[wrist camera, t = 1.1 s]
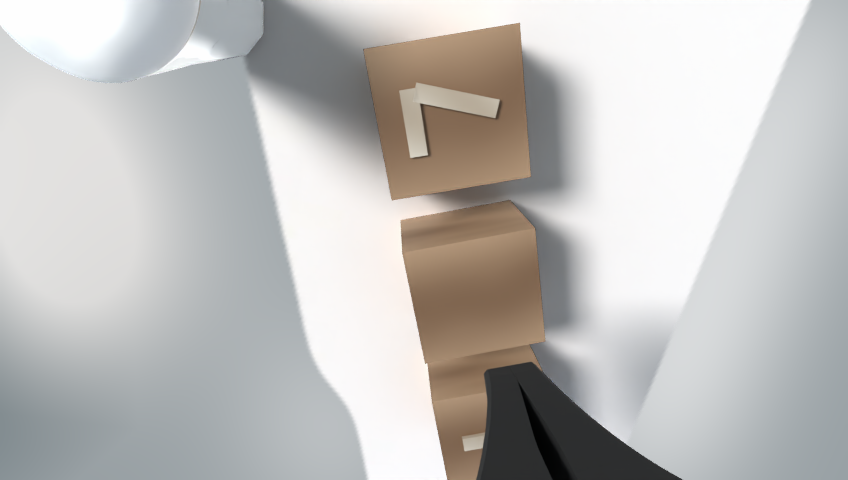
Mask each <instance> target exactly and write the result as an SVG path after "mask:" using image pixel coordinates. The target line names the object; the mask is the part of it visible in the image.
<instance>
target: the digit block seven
mask: <svg viewBox="0 0 848 480" xmlns="http://www.w3.org/2000/svg"><path fill="white" fill-rule="evenodd" d="M363 51H364V56H365V61H366V67H367V72H368V77H369V82H370V88H371V93H372V98H373V104H374V109H375V114H376V119H377V125H378V130H379V135H380V141H381V146H382V151H383V156H384V162H385V167H386V172H387V178H388V183H389V188H390V193H391V199H392V200H397V199H403V198H409V197H415V196H421V195H427V194H433V193H439V192H445V191H451V190H456V189H462V188H468V187H474V186H480V185H486V184H492V183H498V182H504V181H510V180H516V179H522V178H528V177H531V172H530V158H529V144H528V130H527V117H526V103H525V89H524V75H523V61H522V47H521V33H520V23H516V24H510V25H504V26H498V27H492V28H486V29H480V30H474V31H468V32H462V33H456V34H450V35H444V36H438V37H432V38H426V39H421V40H415V41H409V42H403V43H397V44H391V45H385V46H379V47H373V48H367V49H363Z"/></svg>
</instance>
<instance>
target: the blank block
mask: <svg viewBox="0 0 848 480" xmlns="http://www.w3.org/2000/svg"><path fill="white" fill-rule="evenodd" d="M401 237H402V254H403V258H404V263H405V268H406V273H407V278H408V283H409V287H410V292H411V297H412V302H413V307H414V312H415V317H416V321H417V326H418V331H419V336H420V341H421V346H422V350H423V355H424V360H425V364H426V363H432V362H437V361H442V360H448V359H453V358H459V357H464V356H469V355H475V354H480V353H486V352H491V351H496V350H502V349H507V348H513V347H518V346H523V345H529V344H534V343H540V342H545V332H544V321H543V310H542V299H541V287H540V276H539V265H538V254H537V242H536V231H535V227H534V226H533V225H532V224H531V223H530V222H529V221H528V220H527V218H526V217H525V216H524V215H523V214H522V213H521V212H520V211H519V210H518V209H517V207H516V206H515V205H514V204H513V203H512V202H511V201H510V200H508V201H502V202H497V203H491V204H486V205H480V206H475V207H470V208H464V209H459V210H453V211H448V212H443V213H437V214H432V215H426V216H421V217H416V218H410V219H405V220H401Z"/></svg>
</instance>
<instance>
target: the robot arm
mask: <svg viewBox="0 0 848 480" xmlns="http://www.w3.org/2000/svg"><path fill="white" fill-rule="evenodd" d="M484 380H485V387H486V394H487V417H486V429H485V436H484V443H483V449H482V455H481V460H480V465H479V470H478V474H477V478H476V480H682V479H681V478H679V477H677V476H675V475H673V474H671V473H670V472H668V471H666V470H665V469H663V468H661V467H660V466H658V465H656V464H654V463H653V462H652V461H650V460H648V459H647V458H645V457H644V456H642V455H641V454H639V453H638V452H636V451H635V450H634V449H632V448H631V447H629V446H628V445H626V444H625V443H624V442H622V441H621V440H619V439H618V438H617V437H615V436H614V435H613V434H611V433H610V432H609V431H608V430H606V429H605V428H604V427H602V426H601V425H600V424H599V423H597V422H596V421H595V420H594V419H593V418H591V417H590V416H589V415H588V414H587V413H585V412H584V411H583V410H582V409H581V408H580V407H579V406H578V405H576V404H575V403H574V402H573V401H572V400H571V399H570V398H569V397H567V396H566V395H565V394H564V393H563V392H562V391H561V390H560V389H559V388H558V387H557V386H556V385H555V384H554V383H553V382H552V381H551V380H550V379H549V378H548V377H547V376H546V375H545V374H544V373H543V372H542V371H541V370H540V369H539V368H538V367H537V365H536V364H534V363H533V362H526V363H521V364H515V365H509V366H504V367H498V368H492V369H487V370H486V371H485V373H484Z"/></svg>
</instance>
